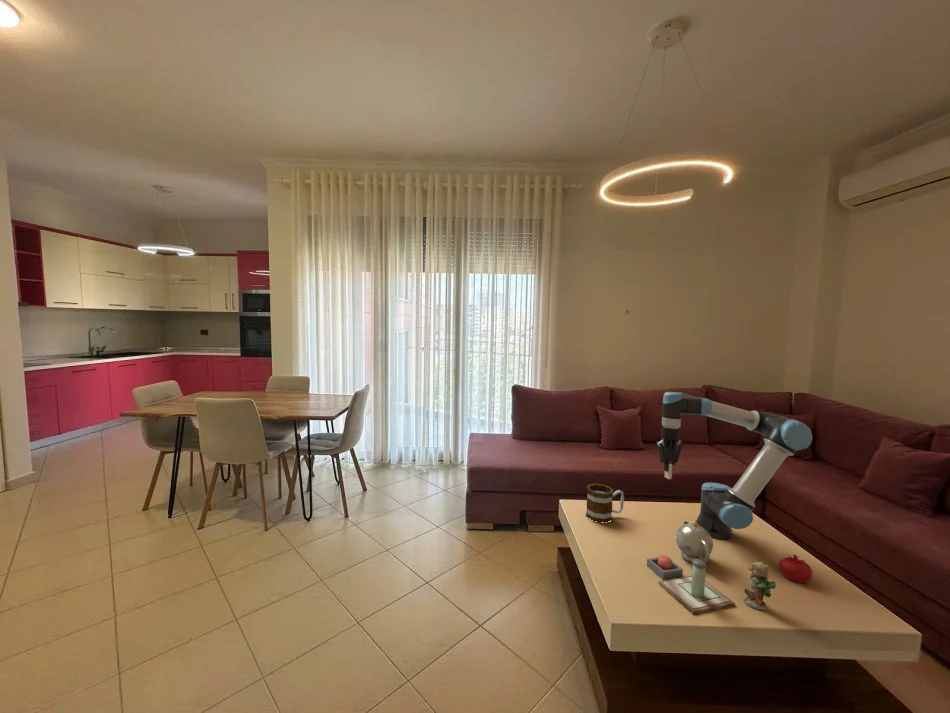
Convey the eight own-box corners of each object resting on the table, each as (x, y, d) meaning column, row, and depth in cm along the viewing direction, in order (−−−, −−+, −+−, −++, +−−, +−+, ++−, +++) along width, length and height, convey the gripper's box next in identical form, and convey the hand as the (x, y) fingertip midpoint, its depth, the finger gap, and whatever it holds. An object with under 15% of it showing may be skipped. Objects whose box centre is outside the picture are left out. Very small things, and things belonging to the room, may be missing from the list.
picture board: (697, 577, 148) (697, 573, 148) (734, 605, 133) (735, 602, 133) (658, 583, 143) (658, 580, 143) (692, 614, 128) (692, 610, 128)
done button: (664, 564, 154) (665, 554, 154) (674, 571, 149) (674, 561, 149) (654, 565, 153) (655, 556, 153) (663, 573, 148) (664, 563, 148)
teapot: (667, 548, 168) (670, 512, 167) (699, 549, 168) (701, 513, 167) (690, 573, 150) (692, 533, 149) (725, 575, 150) (727, 534, 149)
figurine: (737, 597, 137) (740, 557, 136) (757, 596, 138) (760, 556, 137) (758, 616, 128) (761, 573, 127) (779, 615, 129) (782, 572, 128)
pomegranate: (816, 589, 143) (818, 565, 142) (783, 582, 146) (786, 559, 146) (804, 573, 152) (806, 551, 151) (773, 566, 156) (776, 545, 155)
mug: (590, 524, 188) (592, 494, 187) (581, 511, 201) (582, 483, 200) (629, 523, 189) (630, 494, 189) (616, 510, 203) (618, 483, 202)
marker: (697, 590, 138) (698, 558, 138) (707, 597, 134) (709, 564, 134) (688, 592, 137) (689, 559, 137) (698, 599, 133) (699, 566, 133)
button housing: (665, 563, 157) (665, 556, 157) (682, 576, 148) (682, 569, 148) (646, 566, 154) (647, 558, 154) (663, 580, 146) (663, 572, 146)
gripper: (676, 424, 176) (673, 473, 177) (652, 425, 173) (650, 476, 174) (689, 428, 169) (686, 480, 170) (665, 429, 165) (662, 482, 167)
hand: (668, 477), depth 172 cm, fingers closed
